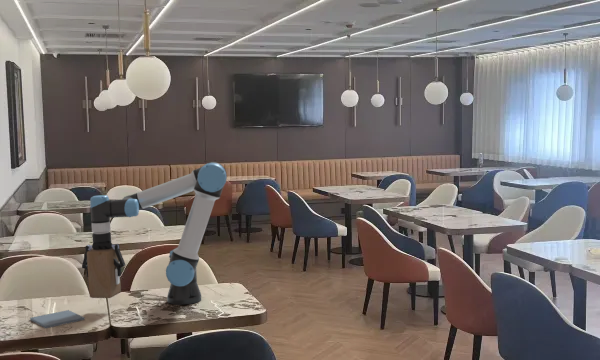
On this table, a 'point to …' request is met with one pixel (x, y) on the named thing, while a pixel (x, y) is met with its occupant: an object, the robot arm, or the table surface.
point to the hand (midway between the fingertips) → (104, 284)
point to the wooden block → (102, 273)
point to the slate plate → (57, 318)
